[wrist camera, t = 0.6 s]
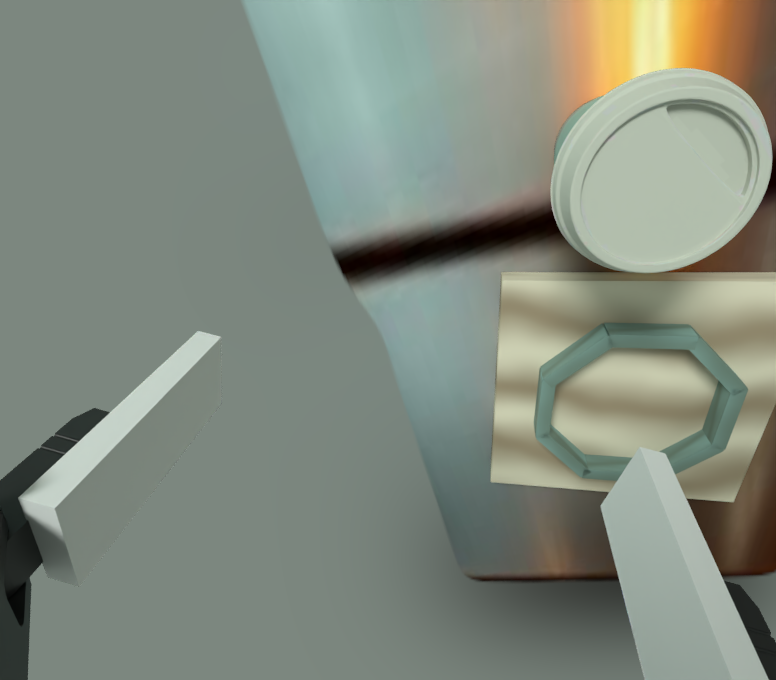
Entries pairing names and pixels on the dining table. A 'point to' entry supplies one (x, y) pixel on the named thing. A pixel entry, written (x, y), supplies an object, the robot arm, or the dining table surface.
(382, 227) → the dining table surface
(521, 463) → the serving board
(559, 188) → the coffee cup
